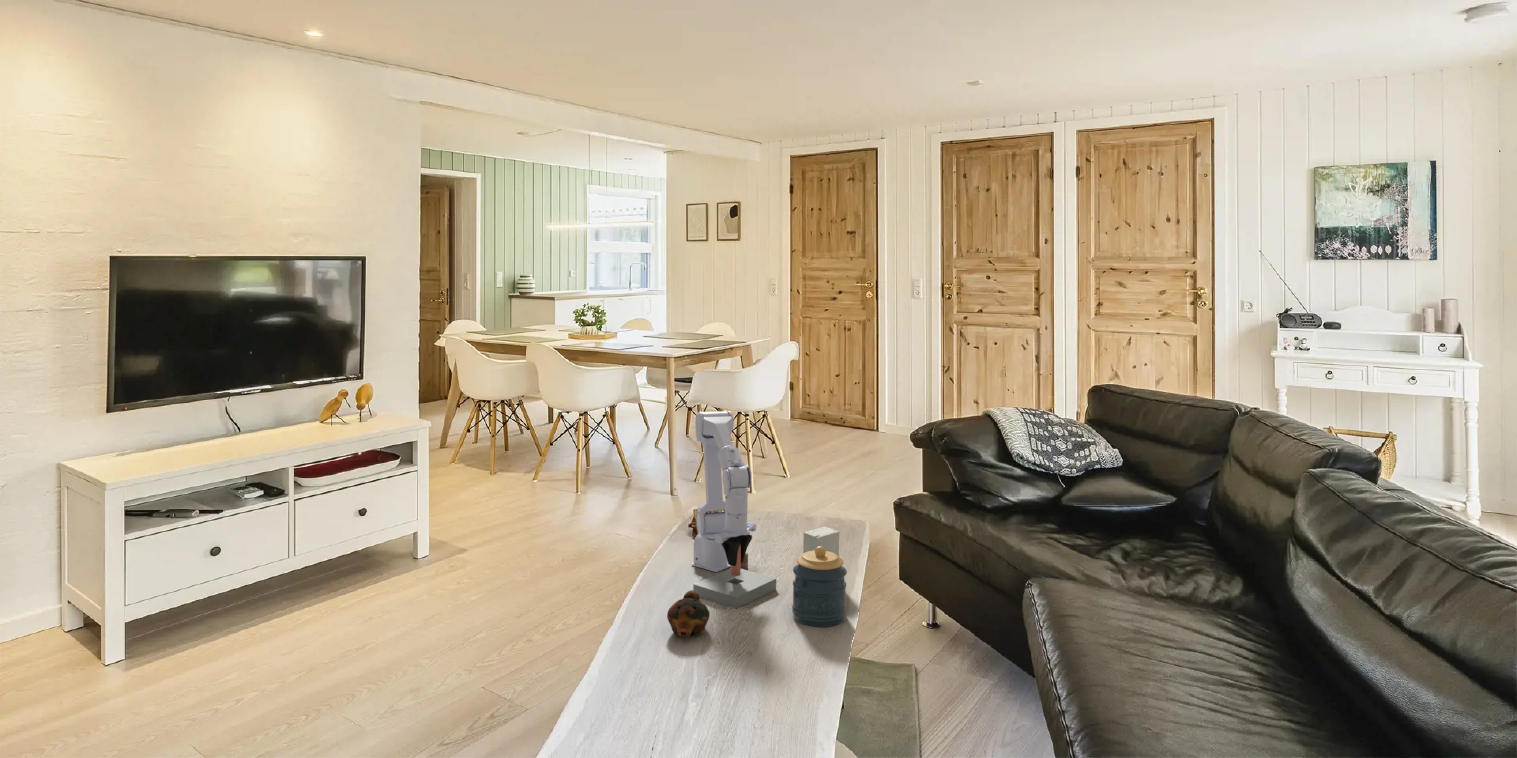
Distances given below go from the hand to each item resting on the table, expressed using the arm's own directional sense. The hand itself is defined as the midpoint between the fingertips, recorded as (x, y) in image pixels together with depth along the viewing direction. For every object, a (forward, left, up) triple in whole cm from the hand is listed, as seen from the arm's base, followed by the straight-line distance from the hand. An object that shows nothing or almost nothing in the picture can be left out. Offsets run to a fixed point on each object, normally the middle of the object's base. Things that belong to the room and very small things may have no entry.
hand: (735, 563), depth 219 cm
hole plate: (0, 0, -8) cm, 8 cm away
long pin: (0, 0, -3) cm, 3 cm away
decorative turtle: (+7, -26, -8) cm, 28 cm away
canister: (+26, +1, -8) cm, 27 cm away
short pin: (-9, +15, -8) cm, 19 cm away
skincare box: (+14, +19, -8) cm, 25 cm away
